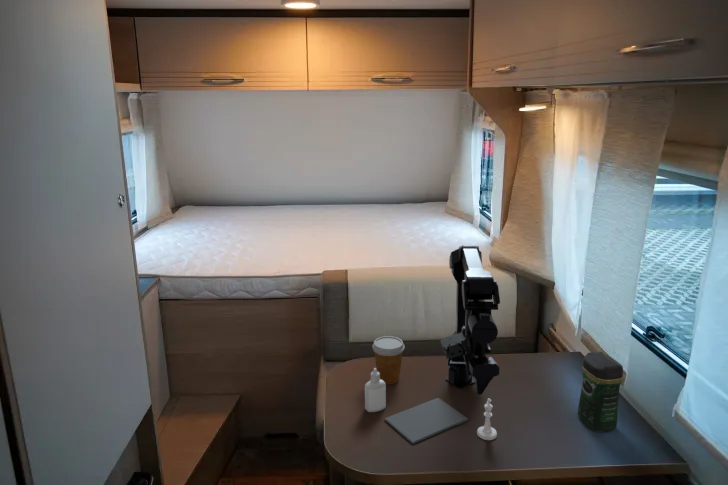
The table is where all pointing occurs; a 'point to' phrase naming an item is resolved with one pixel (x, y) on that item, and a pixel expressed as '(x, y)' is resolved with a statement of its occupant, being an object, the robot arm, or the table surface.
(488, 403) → the chess piece
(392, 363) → the disposable coffee cup
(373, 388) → the eye dropper bottle
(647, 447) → the table surface
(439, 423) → the slate mat
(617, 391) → the coffee jar
